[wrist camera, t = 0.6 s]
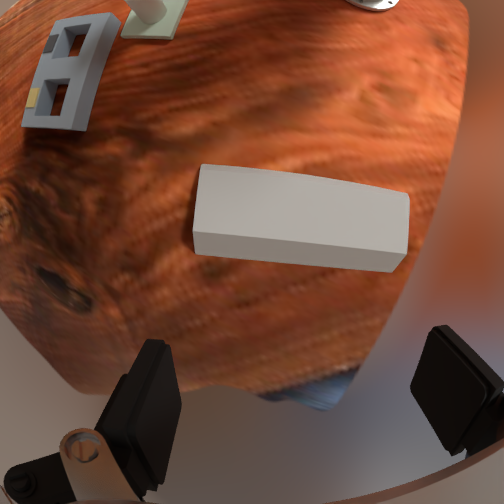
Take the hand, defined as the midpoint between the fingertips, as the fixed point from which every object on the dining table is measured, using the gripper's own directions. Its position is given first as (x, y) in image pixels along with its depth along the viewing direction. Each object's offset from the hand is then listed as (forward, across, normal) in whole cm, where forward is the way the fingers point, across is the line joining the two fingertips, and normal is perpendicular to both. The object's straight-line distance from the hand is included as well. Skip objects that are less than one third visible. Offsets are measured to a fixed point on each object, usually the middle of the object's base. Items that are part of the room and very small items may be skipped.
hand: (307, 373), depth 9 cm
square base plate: (+30, +15, -31) cm, 45 cm away
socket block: (+30, +28, -24) cm, 47 cm away
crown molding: (+31, -6, 0) cm, 31 cm away
